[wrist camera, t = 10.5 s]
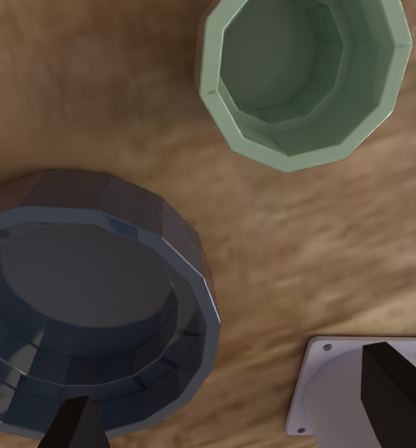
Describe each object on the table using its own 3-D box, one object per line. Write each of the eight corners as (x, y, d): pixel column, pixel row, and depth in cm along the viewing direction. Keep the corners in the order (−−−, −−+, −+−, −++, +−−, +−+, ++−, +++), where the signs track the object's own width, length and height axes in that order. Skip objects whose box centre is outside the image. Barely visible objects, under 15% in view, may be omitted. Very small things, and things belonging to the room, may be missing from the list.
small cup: (349, -26, 15) (441, -48, 10) (314, 133, 17) (373, 178, 12) (196, -46, 14) (213, -81, 9) (184, 123, 16) (192, 167, 12)
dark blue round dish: (222, 174, 18) (237, 216, 14) (197, 371, 23) (204, 439, 19) (-72, 156, 16) (-143, 197, 12) (-25, 371, 21) (-65, 445, 18)
